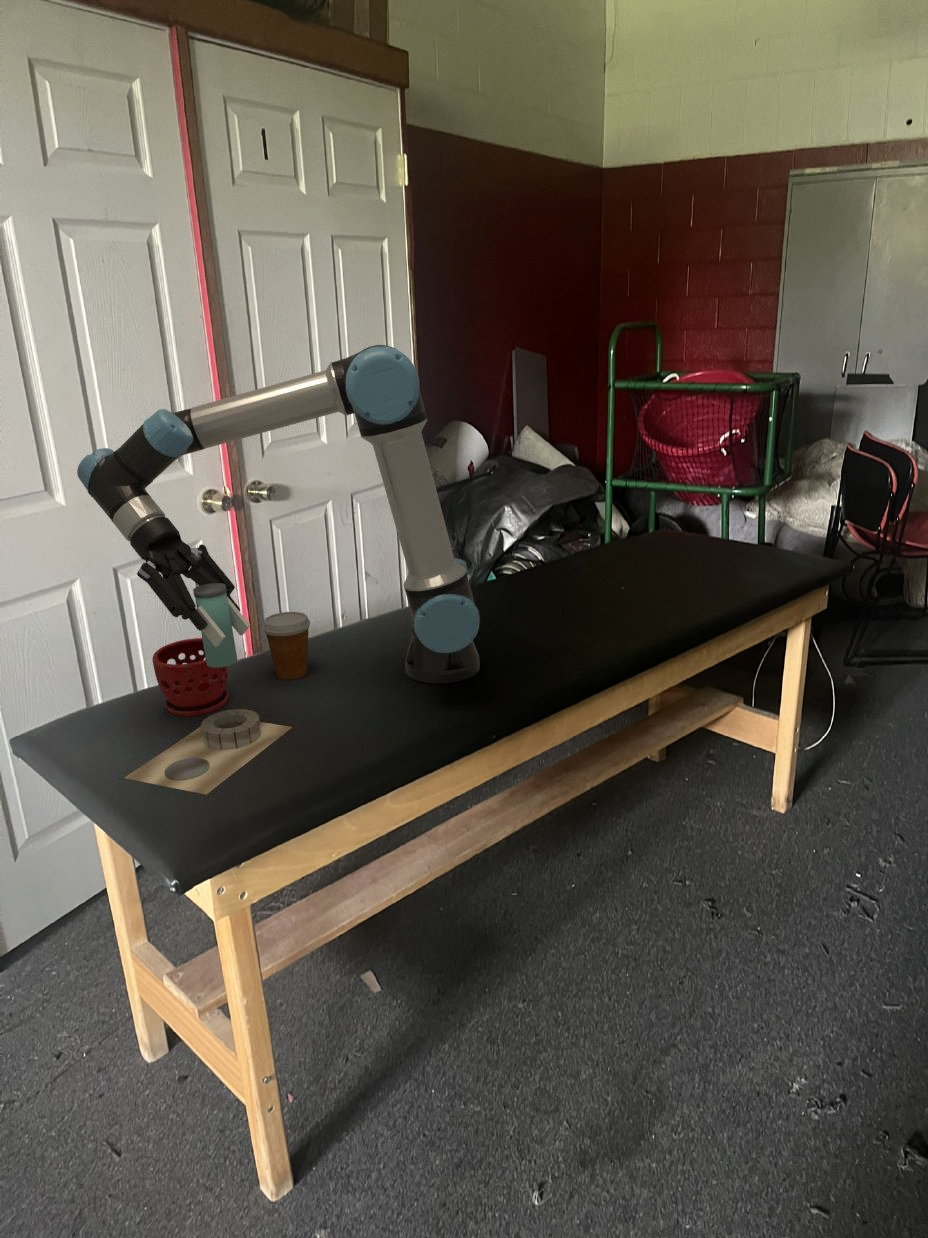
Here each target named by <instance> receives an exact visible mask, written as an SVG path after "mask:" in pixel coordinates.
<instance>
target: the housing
mask: <svg viewBox="0 0 928 1238" xmlns="http://www.w3.org/2000/svg"><path fill="white" fill-rule="evenodd" d="M200 724H201V725H200V726H199V727H198V728H196V729H195V730H194V731H192V732H190V733H189V734H187V735H186V736H185V737H183V738H182V739H180V740H178V741H177V742H175V743H174V744H173V745H171V746H170V747H168V748H167V749H165V750H164V751H163V752H160V753H159V754H158V755H157V756H154V757H153V758H152V759H150V760H149V761H147V762H146V763H144V764H142V765H141V766H139V768H137V769H135V770H134V771H132V772H131V773H129V774H128V775H126V776H125V777H124V779H125V780H126V779H127V780H131V781H136V782H142V783H146V784H152V785H156V786H161V787H165V788H171V789H175V790H176V789H177V790H181V791H187V792H191V793H196V794H200V795H205V796H207V795H208V794H209V793H211V792H212V791H213V790H215V788H216V787H218V786H220V785H221V784H222V783H223V782H225V781H226V780H227V779H228V778H229V777H231V776H232V775H234V774H235V773H236V772H237V771H238V770H239V769H241V768H242V767H244V766H245V765H246V764H247V763H249V762H250V761H252V759H254V758H255V757H257V755H259V754H261V753H262V752H263V751H264V750H266V748H268V747H270V745H272V744H274V742H276V741H277V740H278V739H280V738H281V737H282V736H284V735H285V734H287V732H289V731H290V730H291V729H292V728H293V726H289V725H288V726H287V725H281V724H275V723H268V722H262V721H260V715H259V714H258V713H257V712H255V711H254V710H250V709H244V708H241V709H240V708H234V709H227V710H222V711H219V712H216V713H213V714H210V715H208V717H206V718H205V719H203V721H201V723H200Z"/></svg>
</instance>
